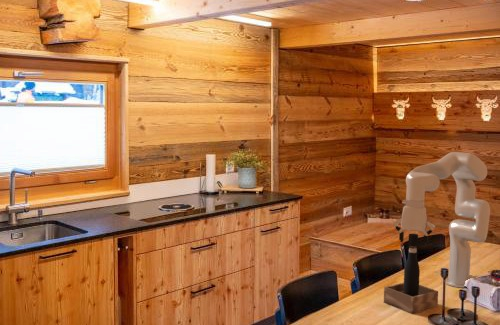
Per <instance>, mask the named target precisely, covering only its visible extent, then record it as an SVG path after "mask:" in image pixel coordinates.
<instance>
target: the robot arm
mask: <svg viewBox="0 0 500 325" xmlns="http://www.w3.org/2000/svg"><path fill="white" fill-rule="evenodd" d="M487 175H488V167H487V165H486V164H485V163H484V162H483V161H482V160H481V159H480V158H479V157H478V156H477V155H475V154H473V153H471V152H462V151H452V152H449V153H447V154H445V155H444V156H442V157H441V158H440V159H438V160H436V161H434V162H430V163H427V164H422V165H419V166H416V167H414V169H412V170H410V171H409V172H408V173H407V175H406V177H405V185H406V194H405V195H406V196H405V199H403V200H402V202H401V203H402V204H405V205H404V206H403V208H402V214H401V218H400V219H397V220H395V221H393V225H394V227H395V230H396V231H397V232H398V233H399V237H398V240H399V243H403V242H404V238H405V232H404V231H413V232H422V234H424V235H423V240H422V241H423V242H422V244H423V246H426V245H427V244H428V242H429V235H430V234H432V233H433V231H434V230H435V228H436V226H435V225H434V224H432V223H431V222H429V221H427V220H428V218H427V217H428V216H427V208H426V206H425V198H426V197H425V196H426V195H425V193H426V192H434V191H436V190H438V188H439V186H440V184H441V182H440V180H444V179H447V178H449V177H450V176H452V177H453V179H454V181H455V185H456V195H455V202H454V212H455V214H456V215H457V216H459V217H462V218H467V219H473V220H475V221H472V220H466V219H462V218H461V219H458V218H457V219H453V220H452V221H450V223H449V224H448V232H449V243H450V244H449V262H448V278H446V283H445V284H446V285H448V286H451V287H456V288H462V289H463V288H464V284H465V281H466V280H468V279H470V278H476V277H478V278H479V276H478V275H474V276H473V274H470V273H471V272H470V270H471V258H472V257H471V256H472V255H471V253H472V248H471V244H470V243H469V242H471V243H477V244H478V243H479V244H483V243H484V242H485V241H486V239H487V237H488V233H489V224H490V215H491V207H490V203H489V202H488V201H487V200H485V199H478V198H476V190H477V188H476V185H475V182H474V181H477V182H481V181H484V180H485V179H486V177H487ZM399 224H400V226H399ZM428 227H429V228H430V229H429V230H428V229H427V228H428Z"/></svg>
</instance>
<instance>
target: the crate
mask: <svg viewBox="0 0 500 325" xmlns="http://www.w3.org/2000/svg"><path fill="white" fill-rule="evenodd" d="M403 289H404V282H400V283H397V284H393V285H387V286H384V287H383V303H384V304H386V305H388V306H391V307H394V308H396V309H399V310H400V311H402V312H403V311H404V312H405V313H409V314H411V315H414V314H417V313H421V312H424V311H427V310H428V309H429V310H432V309H436V308H438V306H439V305H438V303H439V290H435V289H433V288H430V287H427V286H425V285H421V284H419V295H417V296H413V297H412V296H410V295H407V294H404V293H403ZM435 307H436V308H435Z"/></svg>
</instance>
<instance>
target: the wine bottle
mask: <svg viewBox="0 0 500 325" xmlns="http://www.w3.org/2000/svg"><path fill="white" fill-rule="evenodd" d="M418 242H419V235H418V234H417V233H408V243H409V248H408V252H407V260H406V262H405V265H404V270H403V283H404V289H403V293H404V294H407V295H410V296H412V297H413V296H417V295H419V285H420V275H421V271H420V270H421V269H420V264H419V262H418V261H419V260H418V250H417V249H418V248H417V243H418Z"/></svg>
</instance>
